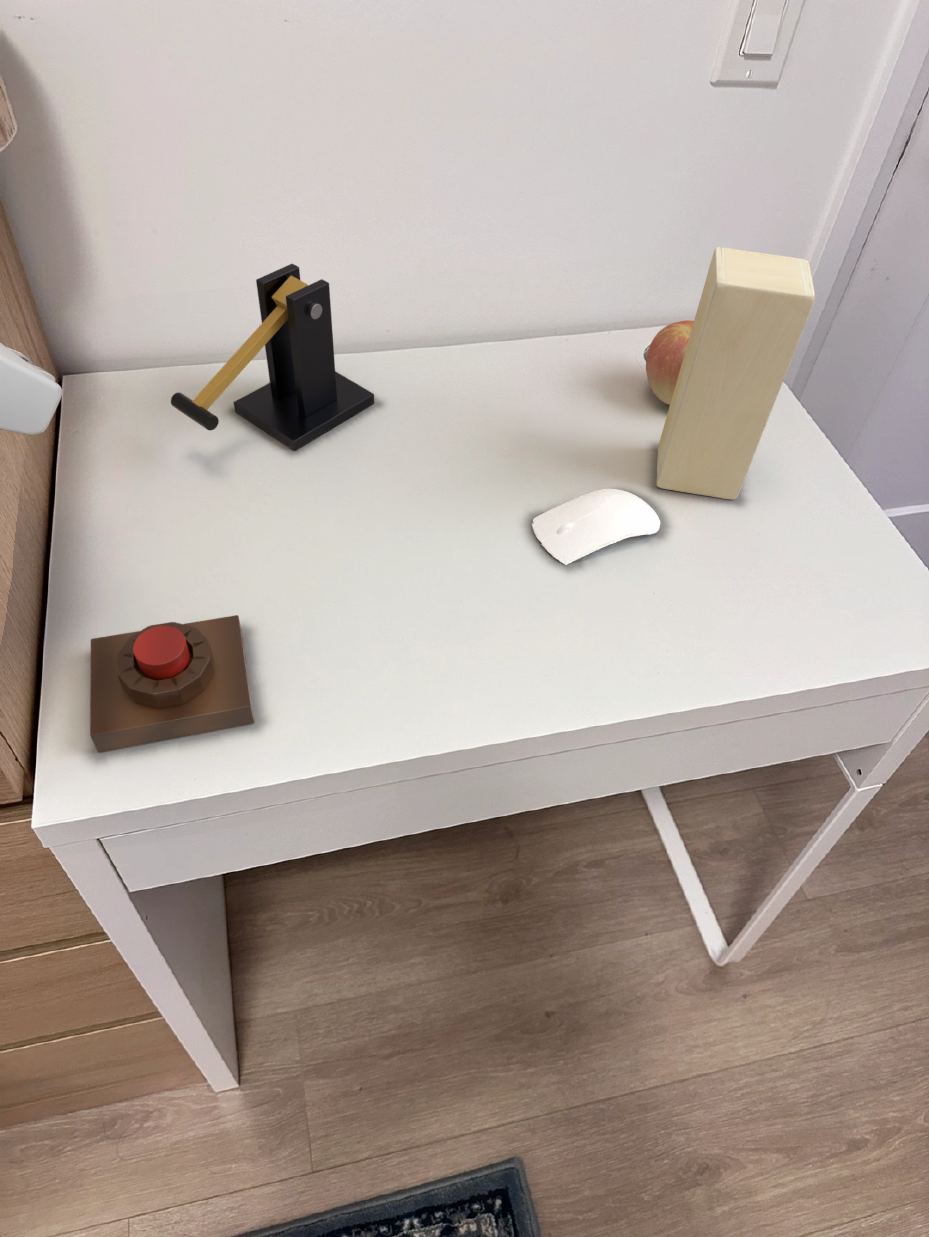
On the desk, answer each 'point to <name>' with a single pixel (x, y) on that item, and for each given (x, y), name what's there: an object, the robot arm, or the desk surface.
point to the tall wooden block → (733, 369)
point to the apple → (667, 358)
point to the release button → (161, 652)
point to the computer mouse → (593, 523)
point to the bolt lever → (237, 361)
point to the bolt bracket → (301, 368)
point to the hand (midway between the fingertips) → (36, 376)
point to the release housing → (169, 687)
